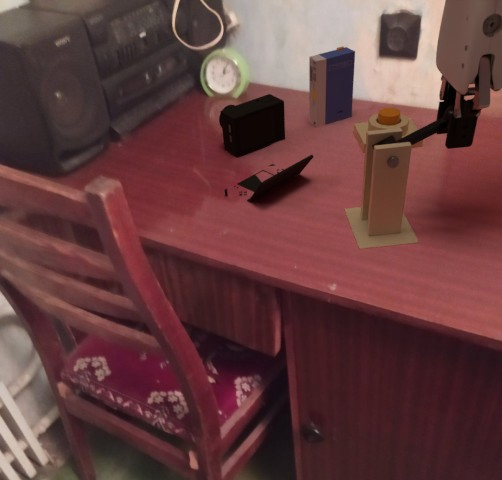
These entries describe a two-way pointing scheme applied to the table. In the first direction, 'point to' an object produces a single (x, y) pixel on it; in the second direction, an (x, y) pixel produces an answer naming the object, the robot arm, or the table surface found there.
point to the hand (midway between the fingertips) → (452, 138)
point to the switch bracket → (383, 194)
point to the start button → (389, 116)
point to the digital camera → (252, 124)
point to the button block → (373, 124)
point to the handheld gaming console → (271, 179)
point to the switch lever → (423, 130)
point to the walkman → (331, 86)
